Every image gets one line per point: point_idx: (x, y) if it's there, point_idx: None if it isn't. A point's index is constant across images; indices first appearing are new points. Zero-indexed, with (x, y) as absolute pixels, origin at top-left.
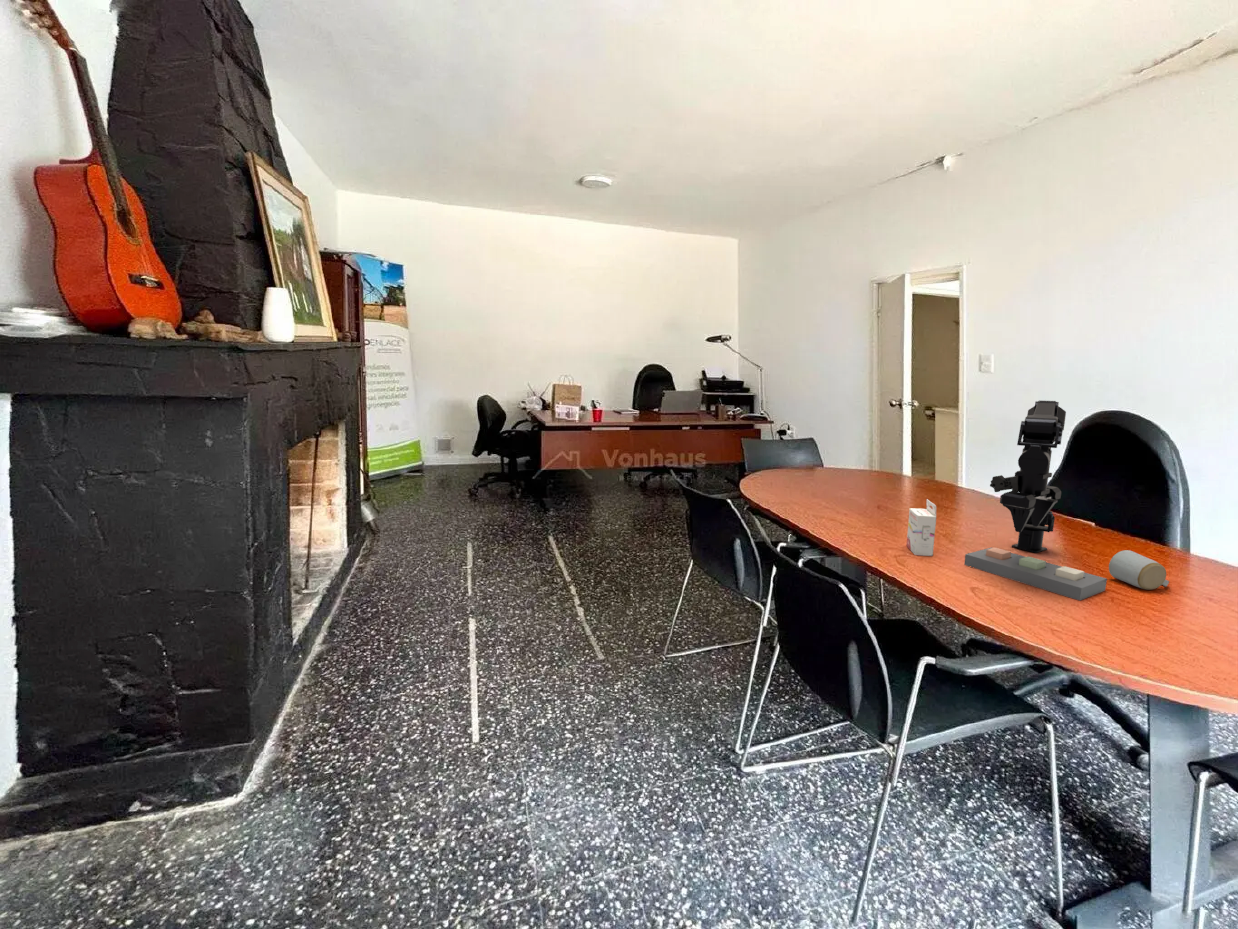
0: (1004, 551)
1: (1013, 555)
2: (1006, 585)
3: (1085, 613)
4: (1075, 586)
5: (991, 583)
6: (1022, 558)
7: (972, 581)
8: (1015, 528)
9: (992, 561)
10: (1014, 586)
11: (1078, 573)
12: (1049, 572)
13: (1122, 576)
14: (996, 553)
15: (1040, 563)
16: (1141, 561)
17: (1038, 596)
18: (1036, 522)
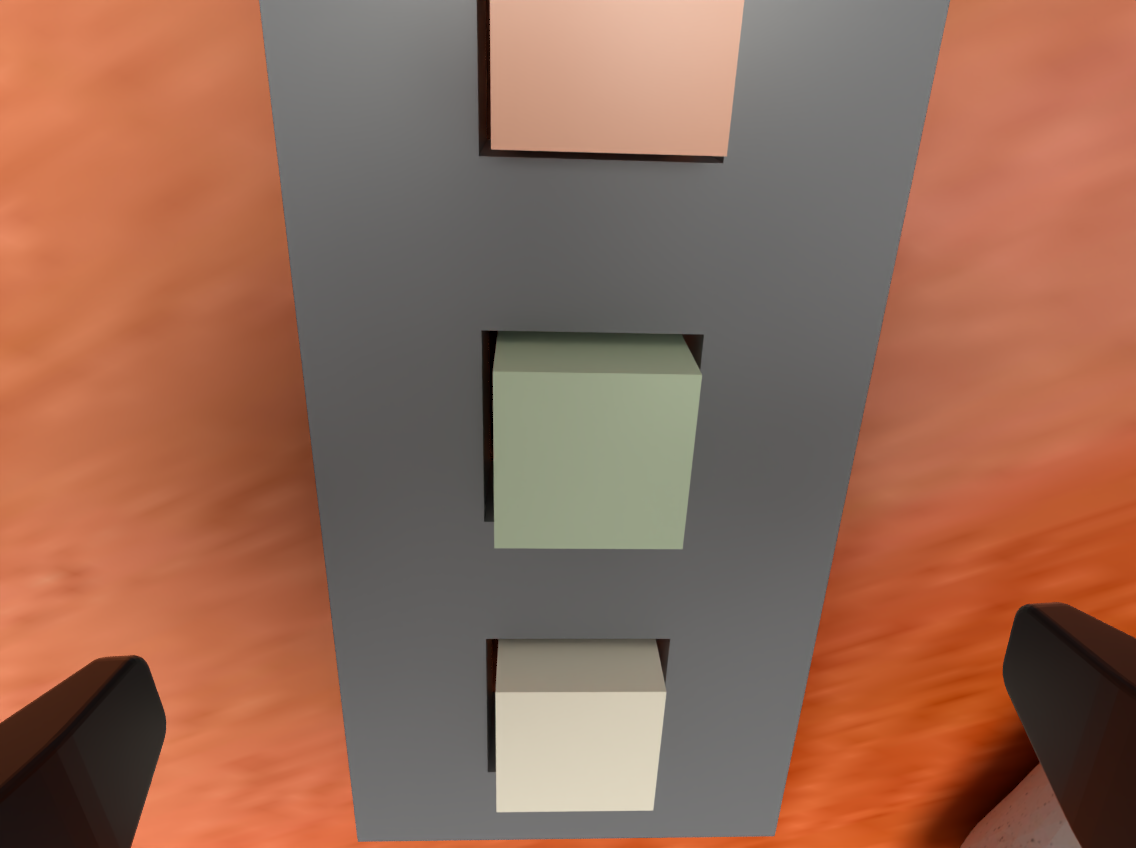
0: (659, 90)
1: (826, 127)
2: (133, 379)
3: (183, 839)
4: (355, 811)
5: (29, 280)
6: (546, 380)
7: None
8: (39, 712)
9: (299, 109)
10: (184, 425)
11: (546, 811)
12: (520, 601)
13: (1019, 807)
14: (491, 52)
15: (564, 544)
16: None
17: (166, 611)
18: (1062, 733)
